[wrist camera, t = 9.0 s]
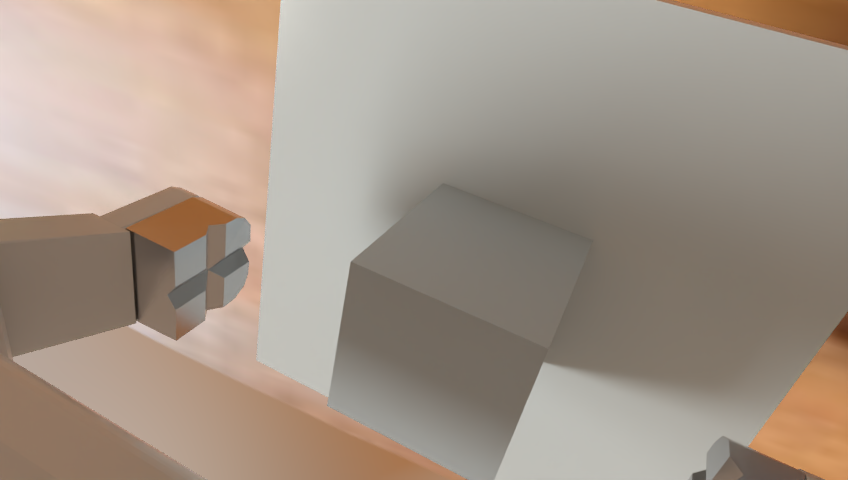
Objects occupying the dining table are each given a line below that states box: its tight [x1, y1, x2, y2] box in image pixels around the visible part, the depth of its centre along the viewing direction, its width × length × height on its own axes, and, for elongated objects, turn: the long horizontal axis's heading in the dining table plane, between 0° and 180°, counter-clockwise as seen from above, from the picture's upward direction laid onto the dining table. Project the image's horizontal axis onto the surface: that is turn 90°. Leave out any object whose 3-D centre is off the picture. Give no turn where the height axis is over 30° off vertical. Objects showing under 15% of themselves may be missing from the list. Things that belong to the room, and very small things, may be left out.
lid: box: [256, 0, 848, 480], centre depth 10 cm, size 11×11×4 cm
